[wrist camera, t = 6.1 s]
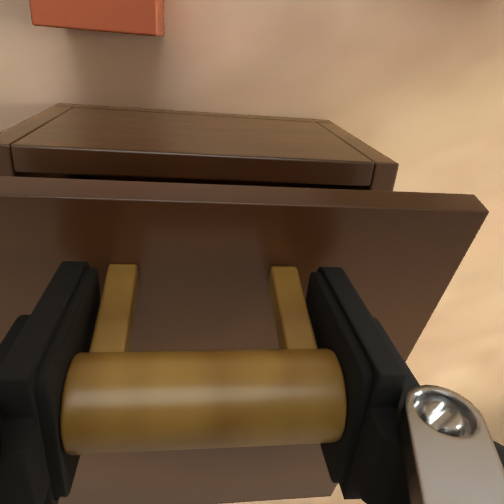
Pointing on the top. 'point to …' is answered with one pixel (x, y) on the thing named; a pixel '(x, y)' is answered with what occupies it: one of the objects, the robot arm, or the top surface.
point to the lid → (218, 322)
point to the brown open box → (191, 149)
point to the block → (101, 15)
